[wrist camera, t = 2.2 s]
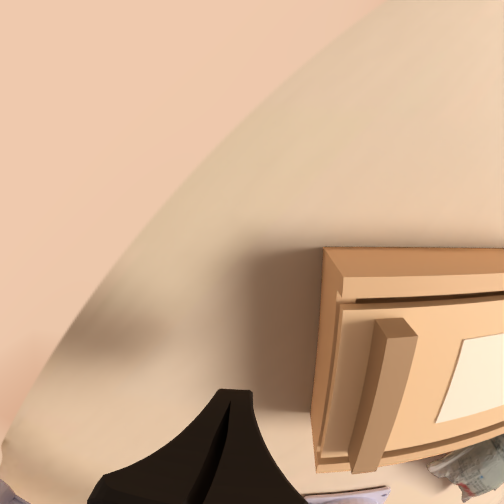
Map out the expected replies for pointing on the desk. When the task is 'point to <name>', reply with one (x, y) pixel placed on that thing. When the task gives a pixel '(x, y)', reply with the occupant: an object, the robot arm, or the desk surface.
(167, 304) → the desk surface
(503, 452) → the packaged food
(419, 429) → the lid
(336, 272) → the light brown rectangular box
